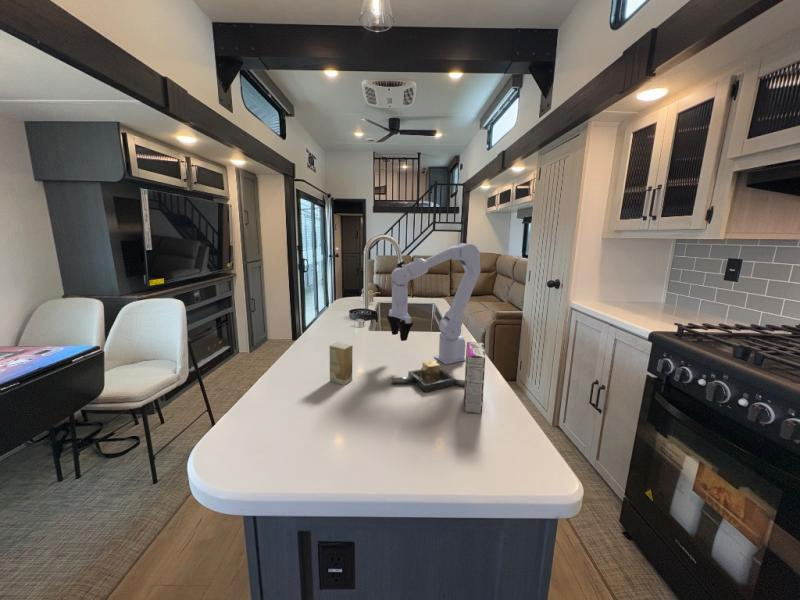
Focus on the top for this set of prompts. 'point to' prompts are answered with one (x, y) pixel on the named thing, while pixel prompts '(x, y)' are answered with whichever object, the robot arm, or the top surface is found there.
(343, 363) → the skincare box
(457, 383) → the steel shaft
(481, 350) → the candy bar box
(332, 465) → the top surface
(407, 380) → the steel shaft
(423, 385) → the grey square tray
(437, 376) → the brass block with pegs
